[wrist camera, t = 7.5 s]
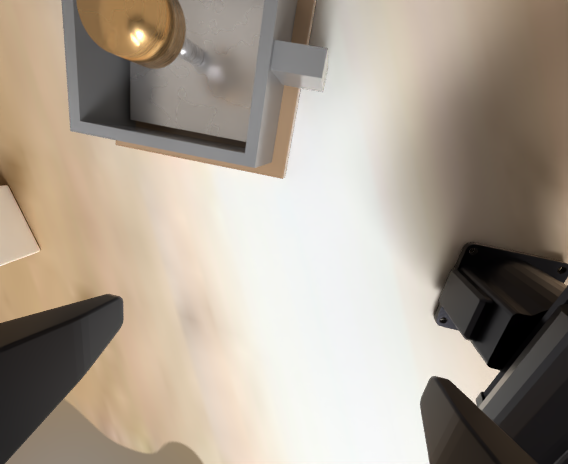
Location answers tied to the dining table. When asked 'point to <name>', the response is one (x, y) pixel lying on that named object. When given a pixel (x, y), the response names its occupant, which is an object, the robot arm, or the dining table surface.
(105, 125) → the grey square tray
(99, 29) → the plunger
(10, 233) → the milk
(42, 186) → the dining table surface
